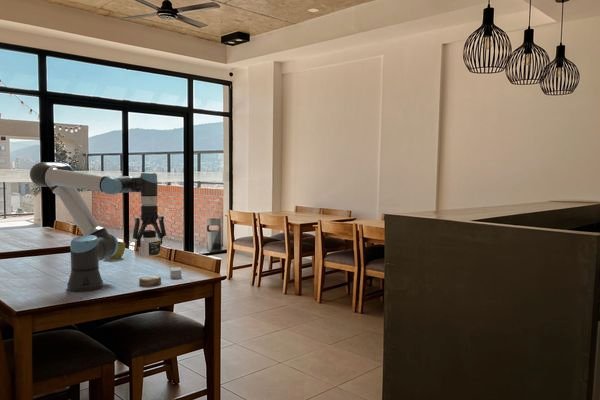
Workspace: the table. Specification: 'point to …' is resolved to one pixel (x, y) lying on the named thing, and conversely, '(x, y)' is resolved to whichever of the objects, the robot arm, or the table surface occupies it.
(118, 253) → the flower pot
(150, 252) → the medicine bottle
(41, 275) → the table surface
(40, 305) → the table surface
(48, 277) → the table surface
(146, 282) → the pedestal
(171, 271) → the grey junction box
